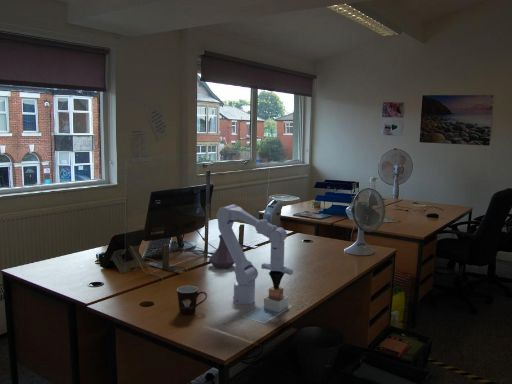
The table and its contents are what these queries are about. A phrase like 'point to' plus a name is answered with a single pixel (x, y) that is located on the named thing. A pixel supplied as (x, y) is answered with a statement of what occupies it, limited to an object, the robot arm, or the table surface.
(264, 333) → the table surface
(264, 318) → the board
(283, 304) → the socket pedestal
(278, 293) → the terracotta block
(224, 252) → the flask
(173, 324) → the table surface
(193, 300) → the coffee mug
